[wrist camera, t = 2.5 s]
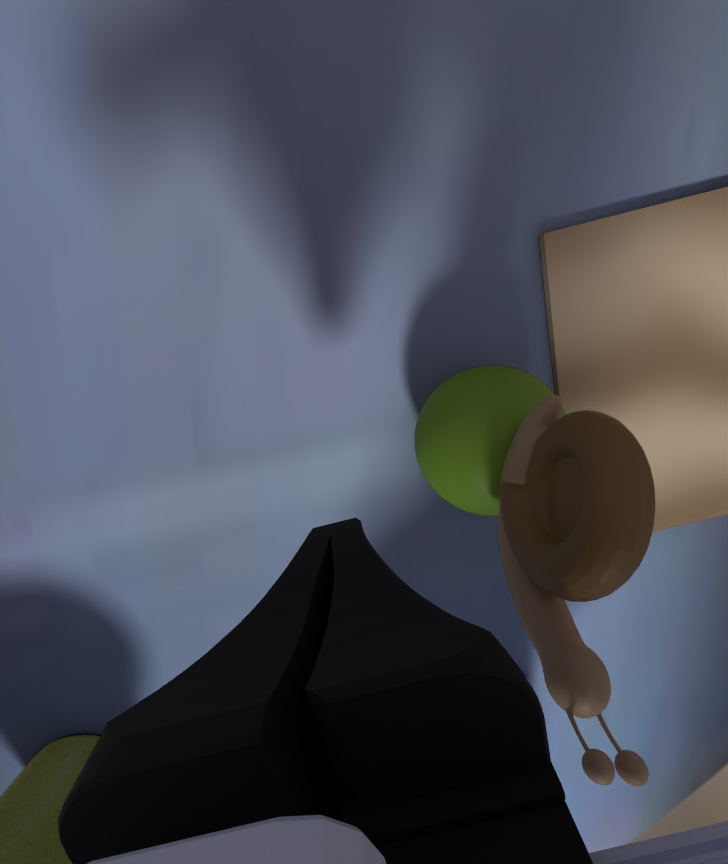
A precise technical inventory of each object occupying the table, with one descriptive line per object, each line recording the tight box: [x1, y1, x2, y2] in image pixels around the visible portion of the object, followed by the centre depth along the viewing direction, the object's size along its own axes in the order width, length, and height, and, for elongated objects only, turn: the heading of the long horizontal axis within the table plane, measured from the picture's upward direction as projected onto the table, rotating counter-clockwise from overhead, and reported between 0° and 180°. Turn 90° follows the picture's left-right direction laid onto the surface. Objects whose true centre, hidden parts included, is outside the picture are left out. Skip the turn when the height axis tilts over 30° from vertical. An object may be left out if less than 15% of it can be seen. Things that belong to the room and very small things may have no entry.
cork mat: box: [539, 187, 728, 532], centre depth 18 cm, size 14×12×1 cm
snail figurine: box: [415, 365, 655, 786], centre depth 13 cm, size 5×6×12 cm
